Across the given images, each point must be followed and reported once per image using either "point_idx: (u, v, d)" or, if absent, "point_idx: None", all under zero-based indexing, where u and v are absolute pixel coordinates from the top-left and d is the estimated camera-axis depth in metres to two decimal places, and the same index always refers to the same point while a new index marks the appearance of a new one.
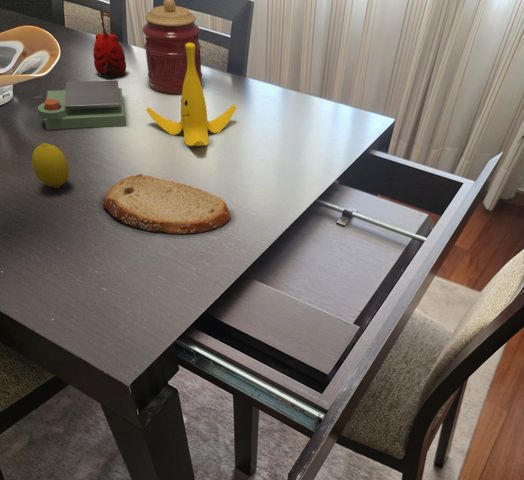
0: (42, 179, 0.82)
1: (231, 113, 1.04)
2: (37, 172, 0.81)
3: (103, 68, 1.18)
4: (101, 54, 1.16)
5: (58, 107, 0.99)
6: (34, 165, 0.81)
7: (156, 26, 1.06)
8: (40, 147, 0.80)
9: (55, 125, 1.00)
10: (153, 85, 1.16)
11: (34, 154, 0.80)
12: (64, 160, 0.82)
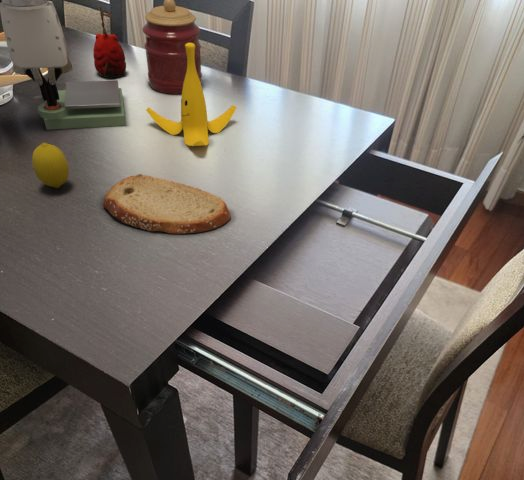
0: (42, 179, 0.82)
1: (231, 113, 1.04)
2: (37, 172, 0.81)
3: (103, 68, 1.18)
4: (101, 54, 1.16)
5: None
6: (34, 165, 0.81)
7: (156, 26, 1.06)
8: (40, 147, 0.80)
9: (55, 125, 1.00)
10: (153, 85, 1.16)
11: (34, 154, 0.80)
12: (64, 160, 0.82)
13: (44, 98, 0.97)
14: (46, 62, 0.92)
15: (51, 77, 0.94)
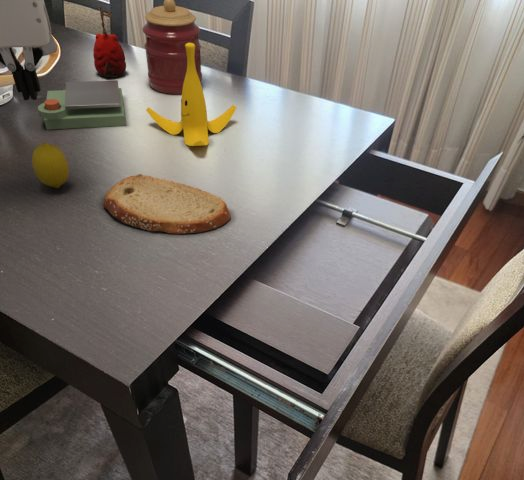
0: (42, 179, 0.82)
1: (231, 113, 1.04)
2: (37, 172, 0.81)
3: (103, 68, 1.18)
4: (101, 54, 1.16)
5: (58, 107, 0.99)
6: (34, 165, 0.81)
7: (156, 26, 1.06)
8: (40, 147, 0.80)
9: (55, 125, 1.00)
10: (153, 85, 1.16)
11: (34, 154, 0.80)
12: (64, 160, 0.82)
13: (19, 89, 0.73)
14: (20, 39, 0.67)
15: (28, 60, 0.70)
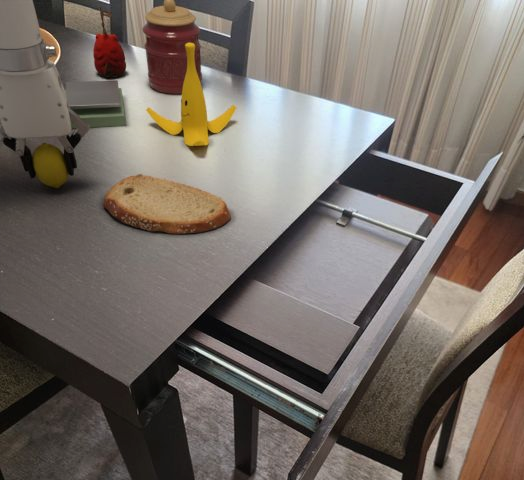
0: (42, 179, 0.82)
1: (231, 113, 1.04)
2: (37, 172, 0.81)
3: (103, 68, 1.18)
4: (101, 54, 1.16)
5: None
6: (34, 165, 0.81)
7: (156, 26, 1.06)
8: (40, 147, 0.80)
9: None
10: (153, 85, 1.16)
11: (34, 154, 0.80)
12: (64, 160, 0.82)
13: (26, 169, 0.81)
14: (46, 131, 0.76)
15: (66, 145, 0.79)
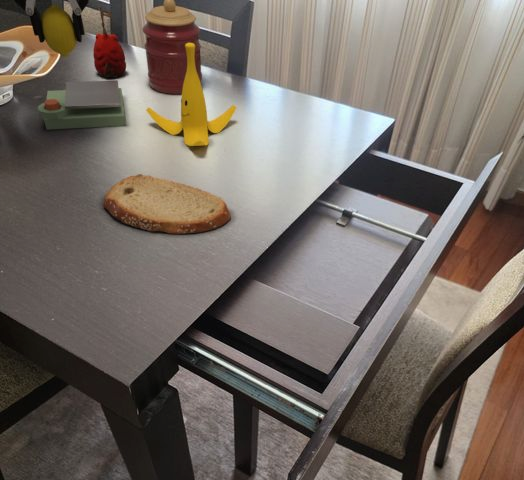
0: (51, 43, 0.84)
1: (231, 113, 1.04)
2: (46, 35, 0.83)
3: (103, 68, 1.18)
4: (101, 54, 1.16)
5: (58, 107, 0.99)
6: (43, 27, 0.83)
7: (156, 26, 1.06)
8: (49, 8, 0.82)
9: (55, 125, 1.00)
10: (153, 85, 1.16)
11: (43, 15, 0.82)
12: (72, 25, 0.84)
13: (35, 32, 0.84)
14: None
15: (74, 6, 0.82)
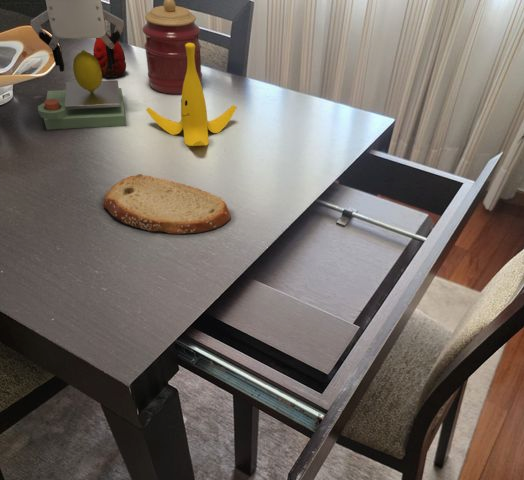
0: (81, 82, 1.00)
1: (231, 113, 1.04)
2: (77, 75, 0.99)
3: (103, 68, 1.18)
4: (101, 54, 1.16)
5: (58, 107, 0.99)
6: (75, 69, 0.99)
7: (156, 26, 1.06)
8: (80, 53, 0.98)
9: (55, 125, 1.00)
10: (153, 85, 1.16)
11: (75, 59, 0.98)
12: (99, 66, 1.00)
13: (56, 63, 0.98)
14: (85, 32, 0.94)
15: (107, 42, 0.96)
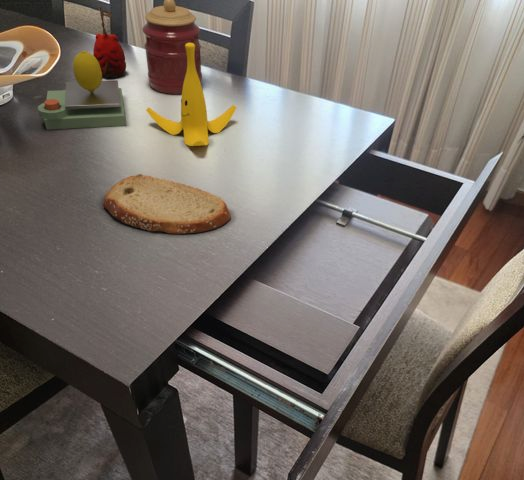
0: (81, 82, 1.00)
1: (231, 113, 1.04)
2: (77, 75, 0.99)
3: (103, 68, 1.18)
4: (101, 54, 1.16)
5: (58, 107, 0.99)
6: (75, 69, 0.99)
7: (156, 26, 1.06)
8: (80, 53, 0.98)
9: (55, 125, 1.00)
10: (153, 85, 1.16)
11: (75, 59, 0.98)
12: (99, 66, 1.00)
13: None
14: None
15: None
